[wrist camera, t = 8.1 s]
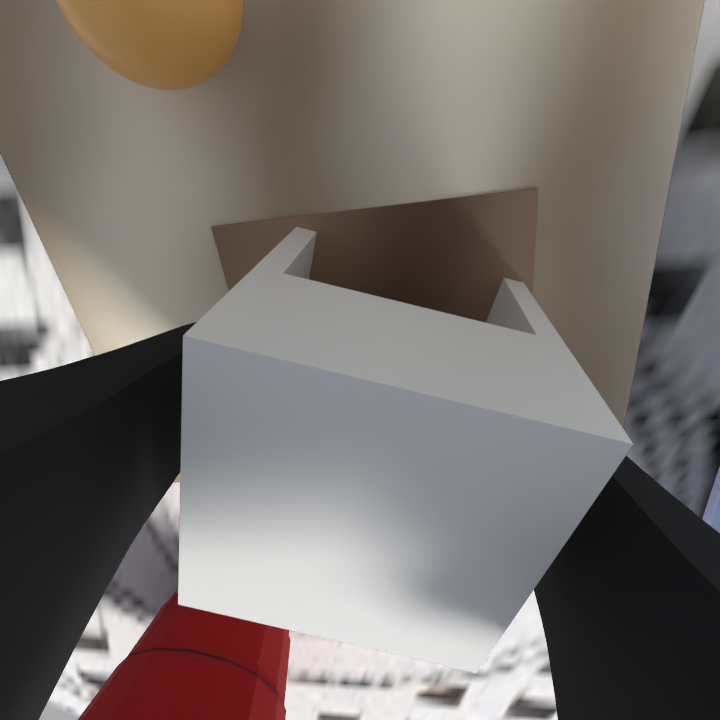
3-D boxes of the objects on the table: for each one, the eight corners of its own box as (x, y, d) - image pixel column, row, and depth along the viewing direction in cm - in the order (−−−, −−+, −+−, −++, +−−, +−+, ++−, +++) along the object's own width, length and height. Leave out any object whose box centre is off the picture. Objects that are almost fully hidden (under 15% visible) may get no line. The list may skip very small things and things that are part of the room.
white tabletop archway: (523, 282, 11) (633, 444, 5) (450, 455, 13) (476, 673, 8) (296, 226, 10) (183, 335, 5) (270, 411, 13) (177, 604, 8)
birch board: (752, -498, 6) (829, -636, 5) (600, 445, 14) (616, 473, 13) (-121, -221, 8) (-203, -273, 7) (170, 459, 16) (152, 484, 15)
